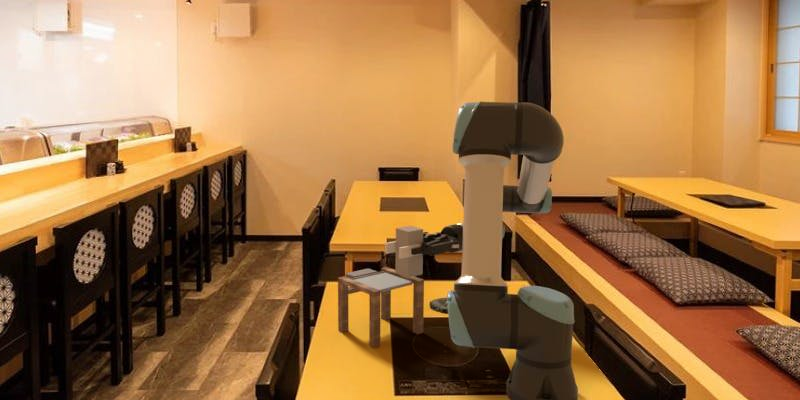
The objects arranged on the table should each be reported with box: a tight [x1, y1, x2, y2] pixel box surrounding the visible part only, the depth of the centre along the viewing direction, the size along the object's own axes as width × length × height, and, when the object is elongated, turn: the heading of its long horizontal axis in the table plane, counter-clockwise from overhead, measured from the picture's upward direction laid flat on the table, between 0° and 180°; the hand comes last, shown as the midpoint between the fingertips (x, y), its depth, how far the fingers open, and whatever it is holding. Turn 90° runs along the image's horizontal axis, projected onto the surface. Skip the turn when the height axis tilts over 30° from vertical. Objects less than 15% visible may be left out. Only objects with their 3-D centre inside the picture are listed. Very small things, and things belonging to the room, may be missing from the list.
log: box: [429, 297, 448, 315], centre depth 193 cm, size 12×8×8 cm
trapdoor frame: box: [337, 266, 425, 349], centre depth 171 cm, size 16×17×15 cm
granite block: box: [395, 225, 424, 278], centre depth 162 cm, size 5×5×12 cm
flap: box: [345, 268, 413, 294], centre depth 172 cm, size 17×12×2 cm
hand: (393, 250), depth 159 cm, fingers closed on granite block, 5 cm apart
